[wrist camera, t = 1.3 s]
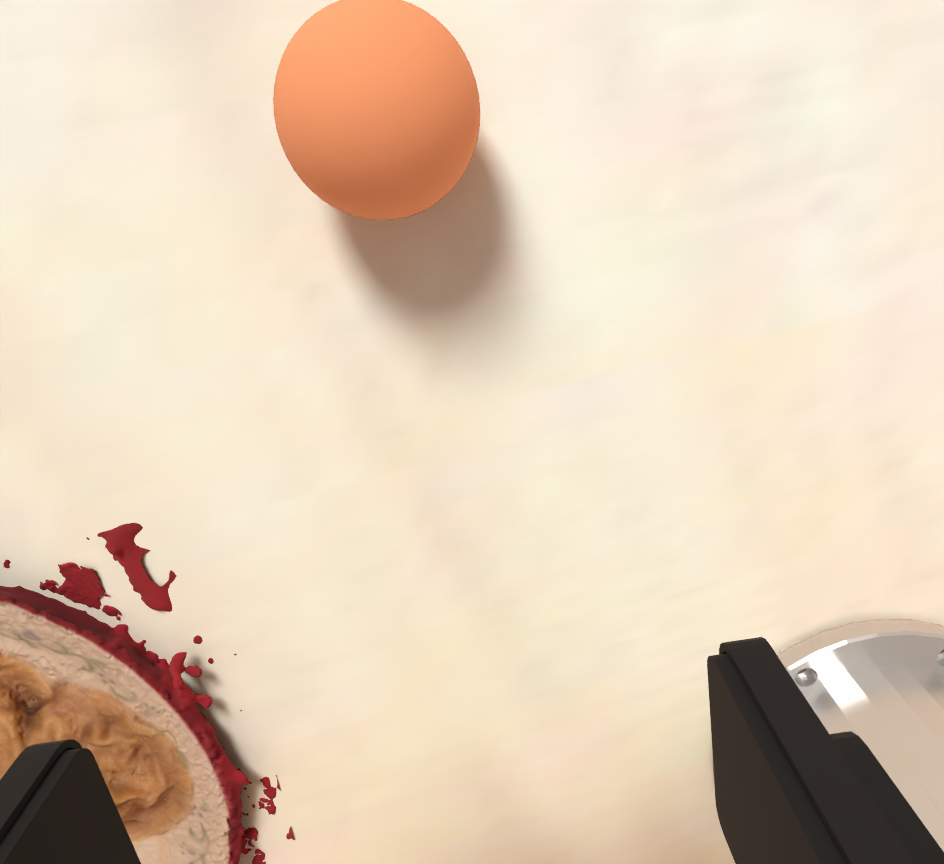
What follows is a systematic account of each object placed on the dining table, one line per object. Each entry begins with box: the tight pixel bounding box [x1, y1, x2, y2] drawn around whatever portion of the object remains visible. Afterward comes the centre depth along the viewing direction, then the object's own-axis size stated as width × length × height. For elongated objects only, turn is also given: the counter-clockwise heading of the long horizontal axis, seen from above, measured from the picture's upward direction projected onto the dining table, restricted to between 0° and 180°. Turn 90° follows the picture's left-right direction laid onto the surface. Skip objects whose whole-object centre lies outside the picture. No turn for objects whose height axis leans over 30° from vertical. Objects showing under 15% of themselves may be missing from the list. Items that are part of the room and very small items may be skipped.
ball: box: [273, 0, 480, 220], centre depth 19 cm, size 6×6×6 cm
